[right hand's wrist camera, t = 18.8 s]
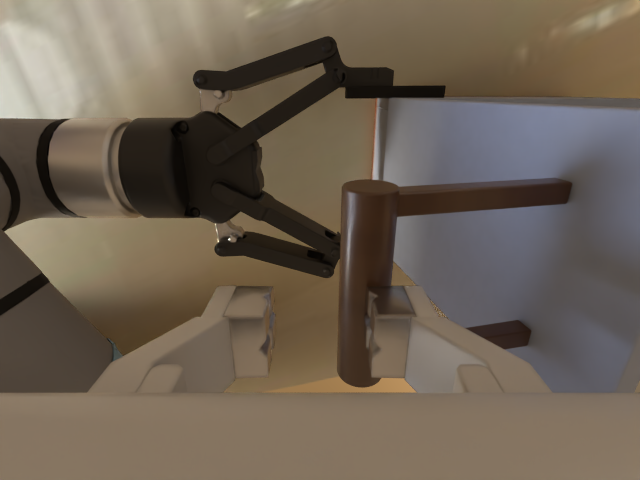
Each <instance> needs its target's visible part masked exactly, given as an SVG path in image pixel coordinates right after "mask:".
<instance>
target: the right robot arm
mask: <svg viewBox="0 0 640 480" xmlns="http://www.w3.org/2000/svg"><path fill="white" fill-rule="evenodd" d="M274 302H275V297H274V288H273V287H269V286H218V287H217V288H216V290H215V292H214V294H213V296H212V298H211V299H210V301H209V303H208V305H207V307H206V308H205V310H204V312H203V314H202V316H201V317H194V318H193V319H191V320H189V321H187V322H185V323H183V324H181V325H180V326H178V327H176V328H174V329H172V330H170V331H169V332H167V333H165V334H163V335H161V336H159V337H157V338H156V339H154V340H152V341H150V342H148V343H146V344H145V345H143V346H141V347H139V348H137V349H135V350H133V351H132V352H130V353H128V354H126V355H124V356H122V357H121V358H119V359H117V360H115V361H113V362H111V363H110V364H109V366H108V367H107V368H106V369H105V371H104V372H103V373H102V374H101V376H100V377H99V378H98V379H97V381H96V382H95V383H94V384H93V386H92V387H91V388H90V389H89V391H88V392H87V393H0V480H640V393H553V392H552V391H551V390H550V388H549V387H548V386H547V385H546V383H545V382H544V381H543V380H542V378H541V377H540V376H539V375H538V373H537V372H536V371H535V370H534V368H533V367H532V366H531V364H530V363H528V362H526V361H524V360H523V359H521V358H519V357H517V356H515V355H513V354H512V353H510V352H508V351H506V350H504V349H502V348H501V347H499V346H497V345H495V344H493V343H491V342H490V341H488V340H486V339H484V338H482V337H480V336H478V335H477V334H475V333H473V332H471V331H469V330H467V329H466V328H464V327H462V326H460V325H458V324H456V323H455V322H453V321H451V320H449V319H447V318H445V317H439V316H438V314H437V312H436V311H435V309H434V307H433V305H432V304H431V302H430V300H429V298H428V296H427V295H426V293H425V291H424V289H423V287H422V286H420V285H418V286H376V287H366V296H365V303H366V308H367V313H366V314H365V315H364V338H365V345H366V349H368V350H369V351H368V362H369V367H370V372H371V377H378V378H405V381H406V382H407V383H408V384H409V385H410V386H411V387H412V388H413V389H414V390H415V391H416V392H417V393H223V392H224V391H225V390H226V389H227V388H228V387H229V386H230V385H231V384H232V383H233V382H234V381H235V378H261V377H268V376H269V371H270V366H271V361H272V354H271V350H272V349H273V348H274V344H275V335H276V315H275V313H274V312H273V307H274Z"/></svg>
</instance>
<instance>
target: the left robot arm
mask: <svg viewBox="0 0 640 480" xmlns="http://www.w3.org/2000/svg"><path fill="white" fill-rule="evenodd" d="M320 63H323V66H324V69H325V72H326V73H325V74H324V75H322V76H321V77H319V78H318V79H316V80H315V81H313V82H312V83H310V84H309V85H307V86H306V87H304V88H303V89H301V90H299V91H298V92H296V93H295V94H293V95H292V96H290V97H289V98H287V99H286V100H284V101H283V102H281V103H280V104H278V105H277V106H275V107H274V108H272V109H270V110H269V111H267V112H266V113H264V114H263V115H261V116H260V117H258V118H257V119H255V120H253V121H252V122H250V123H248V124H247V125H245V126H244V127H242V128H240V127H239V126H238V125H236V124H235V123H233V122H232V121H231V120H229V119H228V118H226V117H225V116H224V115H222V114H221V113H219V112H218V110H219V106H220V105H221V104H222V103H225V102H228V101H230V100H231V98H232V91H238V90H243V89H247V88H250V87H253V86H256V85H259V84H262V83H264V82H267V81H270V80H273V79H276V78H279V77H282V76H285V75H288V74H291V73H294V72H297V71H300V70H302V69H305V68H308V67H311V66H314V65H317V64H320ZM393 75H394V71H393V70H391V69H389V68H387V67H379V68H351V67H347V66H345V65H344V64H343V62H342V61H341V58H340V55H339V52H338V48H337V44H336V42H335V40H334V39H333V38H332V37H329V36H327V37H323V38H320V39H317V40H314V41H312V42H309V43H306V44H303V45H300V46H297V47H295V48H292V49H289V50H286V51H283V52H280V53H277V54H275V55H272V56H269V57H266V58H263V59H260V60H258V61H255V62H252V63H249V64H246V65H243V66H240V67H238V68H235V69H232V70H229V71H209V70H199V71H197V72H195V74H194V76H193V81H194V84H195V85H196V87H198V88H199V89H200V101H201V112H200V113H198V114H197V115H195V116H193V117H191V118H137V119H135V120H133V121H132V120H130V119H127V118H72V119H60V120H57V119H0V393H87V392H88V391H89V389H90V388H91V387H92V386H93V384H94V383H95V382H96V381H97V379H98V378H99V377H100V376H101V374H102V373H103V372H104V371H105V369H106V368H107V367H108V366H109V364H110V363H111V362H113V361H115V360H117V359H119V358H121V357H122V356H123V355H122V354H121V353H120V352H119V350H118V349H117V347H116V346H115V343H113V342H112V341H111V340H110V339H108V338H105V337H104V336H103V335H102V334H101V333H100V332H99V331H98V330H97V329H96V328H95V327H94V326H93V325H92V324H91V323H90V322H89V321H88V320H87V319H86V318H85V317H84V316H83V315H82V314H81V313H80V312H79V311H78V310H77V309H76V308H75V307H74V306H73V305H72V304H71V303H70V302H69V301H68V300H67V299H66V298H65V297H64V296H63V295H62V294H61V293H60V292H59V291H58V290H57V289H56V288H55V287H54V286H53V285H52V284H51V283H50V281H49V279H48V278H47V277H46V276H45V275H44V274H43V273H42V271H41V270H40V269H39V268H38V267H37V266H36V265H35V264H34V263H33V262H32V261H31V260H30V259H29V258H28V257H27V256H26V255H25V254H24V252H23V251H22V250H21V249H20V248H19V247H18V246H17V245H16V244H15V243H14V242H13V241H12V240H11V239H10V238H9V237H8V236H7V235H6V234H5V232H4V231H6V230H7V229H9V228H11V227H14V226H16V225H18V224H21V223H23V222H25V221H28V220H32V219H37V218H70V217H80V218H87V217H92V218H138V217H140V216H144V217H147V218H204V219H207V220H209V221H211V222H213V223H215V227H216V232H217V238H218V243H217V244H216V246H215V252H216V254H217V255H219V256H223V257H224V256H247V257H250V258H254V259H258V260H261V261H265V262H269V263H272V264H276V265H280V266H283V267H287V268H291V269H294V270H298V271H302V272H305V273H309V274H313V275H316V276H320V277H324V278H329V277H331V276H333V274H334V269H335V266H336V264H337V262H338V260H339V259H340V240H341V234H340V233H339V232H337V234H336V233H334V232H333V231H331V230H329V229H327V228H325V227H324V226H322V225H320V224H318V223H316V222H315V221H313V220H311V219H309V218H307V217H306V216H304V215H302V214H300V213H298V212H297V211H295V210H293V209H291V208H290V207H288V206H286V205H284V204H282V203H281V202H279V201H277V200H275V199H274V198H273V196H271V195H270V194H268V193H266V192H265V191H263V190H262V188H263V187H264V177H263V174H262V171H261V168H260V165H261V160H262V147H260V146H259V144H258V142H257V140H258V139H259V138H261V137H262V136H264V135H265V134H267V133H269V132H270V131H272V130H273V129H275V128H276V127H278V126H280V125H281V124H283V123H284V122H286V121H287V120H289V119H290V118H292V117H294V116H295V115H297V114H298V113H300V112H301V111H303V110H305V109H306V108H308V107H309V106H311V105H312V104H314V103H315V102H317V101H319V100H320V99H322V98H323V97H325V96H326V95H328V94H330V93H331V92H333V91H334V90H336V89H337V88H341V87H345V98H444V94H445V86H393ZM239 212H243V213H245V214H247V215H249V216H251V217H252V218H254V219H256V220H259V221H265V222H267V223H269V224H270V225H272V226H274V227H276V228H278V229H280V230H282V231H283V232H285V233H287V234H289V235H291V236H293V237H295V238H296V239H298V240H300V241H302V242H304V243H306V244H307V245H309V246H311V247H313V248H315V249H312V248H309V247H305V246H302V245H298V244H295V243H291V242H287V241H284V240H280V239H277V238H273V237H270V236H266V235H262V234H259V233H255V232H248V231H244V229H243V228H242V227H240V226H236V225H234V224H232V223H231V221H230V219H231V218H233V217H234V216H235V215H237V214H238V213H239ZM316 249H317V250H316Z"/></svg>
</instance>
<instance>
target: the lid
mask: <svg viewBox="0 0 640 480" xmlns="http://www.w3.org/2000/svg"><path fill="white" fill-rule="evenodd" d="M393 261H394V262H395V263H396V264H397V265H398V266H399V267H400V268H401V269H402V271H403V272H404V273H405V274H406V275H407V276H408V277H409V278H410V279H411V280H412V281H413V282H414V283H415V284H416V285H417V286H418V285H420V286H422V287H423V289H424V291H425V293H426V295H427V296H428V298H429V299H430V300H431V301H432V302H433V303H434V304H435V305H436V306H437V307H438V308H439V309H440V310H441V311H442V312H443V313H444V314H445V315H446V316H447V317H448V318H449V319H450V320H451V321H453V322H455V323H456V324H458V325H460V326H462V327H464V328H466V329H467V330H469V331H471V332H473V333H475V334H477V335H478V336H480V337H482V338H484V339H486V340H488V341H490V342H491V343H493V344H495V345H497V346H499V347H501V348H502V349H504V350H506V351H508V352H510V353H512V354H513V355H515V356H517V357H519V358H521V359H523V360H524V361H526V362H528V363H530V364H531V366H532V367H533V368H534V370H535V371H536V372H537V373H538V375H539V376H540V377H541V378H542V380H543V381H544V382H545V383H546V385H547V386H548V387H549V388H550V390H551V391H552V392H553V393H634V392H635V389H636V387H637V385H638V383H639V380H640V108H629V107H605V106H580V105H556V104H532V103H507V102H483V101H458V100H434V99H409V98H390V99H389V105H388V119H387V132H386V146H385V160H384V174H383V181H382V180H354V181H350V182H347V183H344V184H343V186H342V202H341V240H340V277H339V314H338V351H337V372H338V374H339V376H340V378H341V379H342V380H343V381H344V382H346V383H347V384H349V385H352V386H355V387H369V386H372V385H375V384H376V383H377V382H379V380H380V379H381V378H378V377H371V372H370V367H369V362H368V351H369V350H368V349H366V345H365V338H364V315H365V314H366V313H367V308H366V303H365V296H366V287H376V286H391V279H392V268H393Z"/></svg>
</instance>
